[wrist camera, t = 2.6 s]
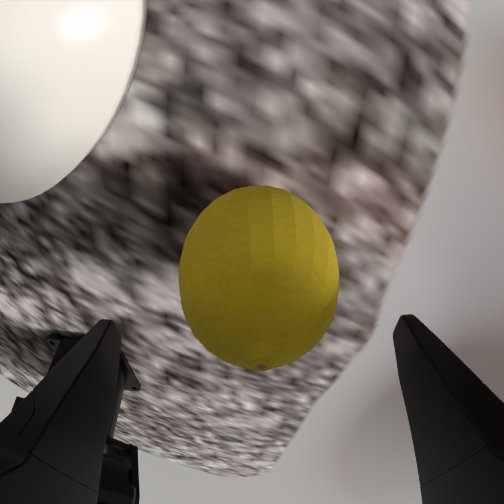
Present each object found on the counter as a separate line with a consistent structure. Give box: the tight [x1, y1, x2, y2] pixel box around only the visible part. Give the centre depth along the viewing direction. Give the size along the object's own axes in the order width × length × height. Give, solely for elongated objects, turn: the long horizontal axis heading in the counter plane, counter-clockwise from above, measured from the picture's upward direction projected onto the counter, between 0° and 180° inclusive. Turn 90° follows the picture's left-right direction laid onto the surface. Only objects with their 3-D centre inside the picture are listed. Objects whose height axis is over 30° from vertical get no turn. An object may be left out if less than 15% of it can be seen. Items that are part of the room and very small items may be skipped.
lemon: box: [179, 186, 339, 371], centre depth 11 cm, size 6×6×8 cm
